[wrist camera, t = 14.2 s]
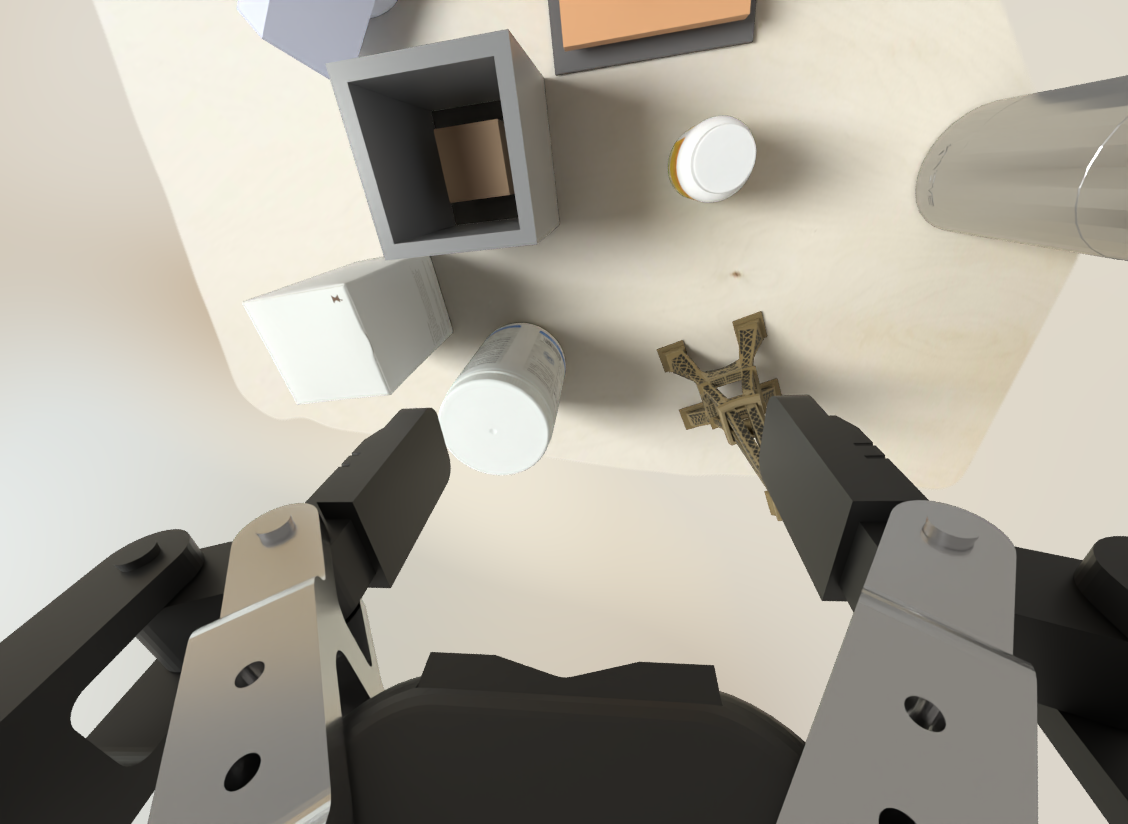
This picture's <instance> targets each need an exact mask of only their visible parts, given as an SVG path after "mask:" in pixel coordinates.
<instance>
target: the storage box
mask: <svg viewBox="0 0 1128 824" xmlns="http://www.w3.org/2000/svg"><path fill="white" fill-rule="evenodd" d="M326 68H327V71H328V74H329V77H330V81H331V84H332V87H333V91H334V94H335V97H336V100H337V104H338V107H339V110H340V113H341V117H342V120H343V123H344V127H345V130H346V133H347V136H348V140H349V143H350V146H351V150H352V153H353V156H354V159H355V163H356V166H357V169H358V173H359V176H360V179H361V182H362V186H363V189H364V192H365V196H366V199H367V202H368V205H369V209H370V212H371V215H372V219H373V222H374V225H375V228H376V232H377V235H378V238H379V242H380V245H381V248H382V251H383V255H384V258H385V261H388V260H397V259H406V258H415V257H424V256H434V255H443V254H452V253H461V252H470V251H480V250H489V249H498V248H507V247H517V246H526V245H535V244H538V243H539V242H540V241H541V240H543V239H544V238H545V237H546V236H547V235H548V234H549V233H551V232H552V231H553V230H554V229H555V228H556V227H557V226H559V225H560V222H559V213H558V204H557V195H556V185H555V176H554V167H553V158H552V149H551V139H550V130H549V121H548V112H547V103H546V93H545V84H544V77H543V76H542V74H541V73H540V72H539V70H538V69H537V68H536V66H535V65H534V64H533V62H532V61H531V60H530V58H529V57H528V55H527V54H526V53H525V51H524V50H523V49H522V47H521V46H520V45H519V43H518V42H517V41H516V39H515V38H514V36H513V35H512V34H511V32H510V31H509V30H508V29H506V30H500V31H495V32H490V33H485V34H479V35H474V36H469V37H463V38H458V39H453V40H448V41H442V42H437V43H432V44H426V45H421V46H416V47H411V48H405V49H400V50H395V51H389V52H384V53H379V54H373V55H368V56H363V57H358V58H352V59H347V60H342V61H336V62H331V63H326ZM498 100H501V106H502V113H503V119H504V126H505V132H506V139H507V146H508V152H509V159H510V166H511V172H512V179H513V185H514V192H515V199H516V205H517V212H518V218H511V219H502V220H494V221H485V222H477V223H469V224H460V225H456V222H455V218H454V213H453V209H452V204H451V203H450V201H449V197H448V192H447V188H446V183H445V179H444V174H443V170H442V166H441V161H440V157H439V152H438V148H437V143H436V139H435V135H434V130H433V129H435V126H434V121H433V117H432V112H431V111H437V110H443V109H449V108H455V107H461V106H467V105H474V104H480V103H486V102H492V101H498Z"/></svg>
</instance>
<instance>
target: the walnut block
mask: <svg viewBox="0 0 1128 824" xmlns="http://www.w3.org/2000/svg"><path fill="white" fill-rule="evenodd" d="M433 130H434V135H435V139H436V143H437V148H438V152H439V157H440V161H441V166H442V170H443V174H444V179H445V183H446V188H447V192H448V197H449V201H450V203H453V202H461V201H468V200H475V199H483V198H490V197H497V196H505V195H511V194H515V192H514V185H513V179H512V172H511V166H510V159H509V152H508V146H507V139H506V132H505V126H504V122H503V121H501V120H499V119H493V120H487V121H481V122H475V123H468V124H462V125H456V126H450V127H444V128H438V129H433Z"/></svg>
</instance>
